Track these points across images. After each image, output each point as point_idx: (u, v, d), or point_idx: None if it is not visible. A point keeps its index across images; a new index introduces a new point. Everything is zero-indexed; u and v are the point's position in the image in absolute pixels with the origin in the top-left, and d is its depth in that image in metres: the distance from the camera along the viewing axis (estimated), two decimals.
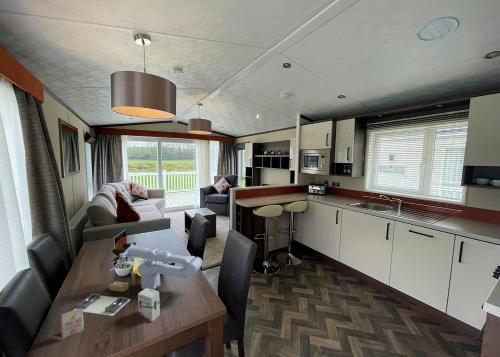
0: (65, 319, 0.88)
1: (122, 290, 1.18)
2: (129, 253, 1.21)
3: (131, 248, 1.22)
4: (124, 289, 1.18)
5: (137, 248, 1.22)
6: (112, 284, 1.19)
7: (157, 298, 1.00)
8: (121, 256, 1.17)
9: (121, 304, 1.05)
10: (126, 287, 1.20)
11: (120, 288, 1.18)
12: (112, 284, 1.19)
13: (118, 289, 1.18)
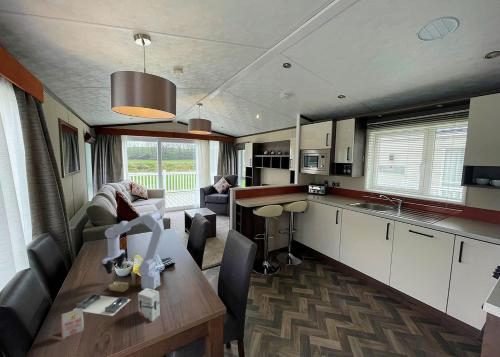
0: (65, 319, 0.88)
1: (122, 290, 1.18)
2: (110, 255, 1.21)
3: (108, 254, 1.22)
4: (124, 289, 1.18)
5: None
6: (112, 284, 1.19)
7: (157, 298, 1.00)
8: (104, 261, 1.17)
9: (121, 304, 1.05)
10: (126, 287, 1.20)
11: (120, 288, 1.18)
12: (112, 284, 1.19)
13: (118, 289, 1.18)
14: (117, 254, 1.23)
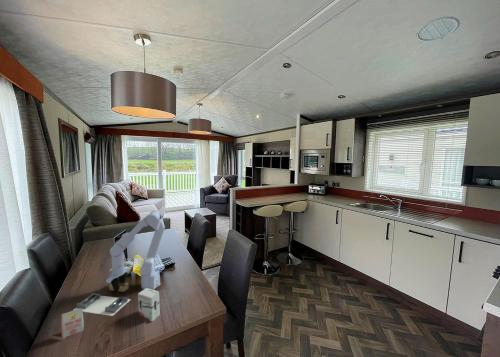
0: (65, 319, 0.88)
1: (122, 290, 1.18)
2: (115, 274, 1.17)
3: (112, 272, 1.18)
4: (124, 289, 1.18)
5: None
6: None
7: (157, 298, 1.00)
8: (108, 280, 1.12)
9: (121, 304, 1.05)
10: (126, 287, 1.20)
11: (120, 288, 1.18)
12: None
13: (118, 289, 1.18)
14: (122, 272, 1.18)
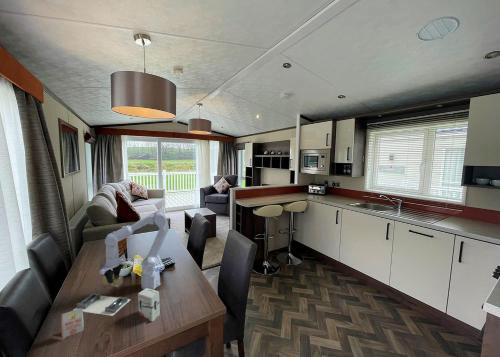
0: (65, 319, 0.88)
1: (116, 283, 1.13)
2: (108, 265, 1.12)
3: (106, 263, 1.13)
4: (118, 282, 1.13)
5: None
6: None
7: (157, 298, 1.00)
8: (101, 272, 1.07)
9: (121, 304, 1.05)
10: (120, 280, 1.15)
11: (114, 282, 1.13)
12: (105, 278, 1.14)
13: (112, 282, 1.13)
14: (116, 263, 1.13)
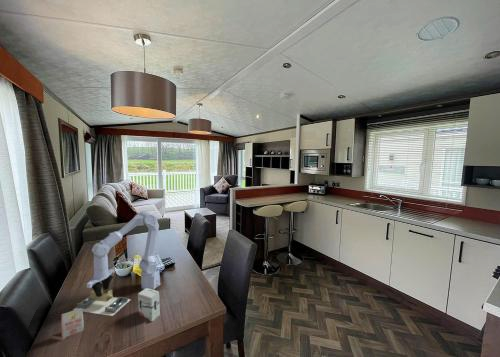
0: (65, 319, 0.88)
1: (105, 298, 1.04)
2: (97, 277, 1.03)
3: (94, 275, 1.05)
4: (107, 297, 1.05)
5: None
6: None
7: (157, 298, 1.00)
8: (88, 285, 0.99)
9: (121, 304, 1.05)
10: (109, 294, 1.06)
11: (103, 296, 1.05)
12: (93, 292, 1.06)
13: (100, 297, 1.05)
14: (105, 275, 1.05)
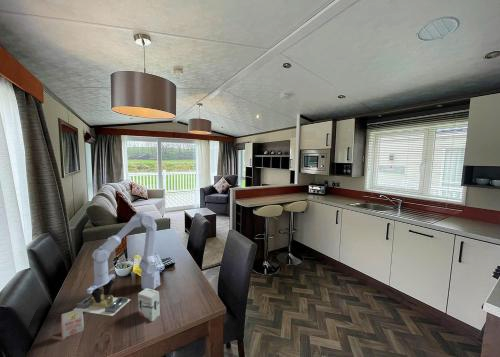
0: (65, 319, 0.88)
1: (105, 304, 1.05)
2: (97, 283, 1.03)
3: (94, 281, 1.05)
4: (107, 303, 1.05)
5: None
6: None
7: (157, 298, 1.00)
8: (89, 291, 0.99)
9: (121, 304, 1.05)
10: (110, 300, 1.07)
11: (103, 302, 1.05)
12: None
13: (101, 303, 1.05)
14: (105, 281, 1.05)
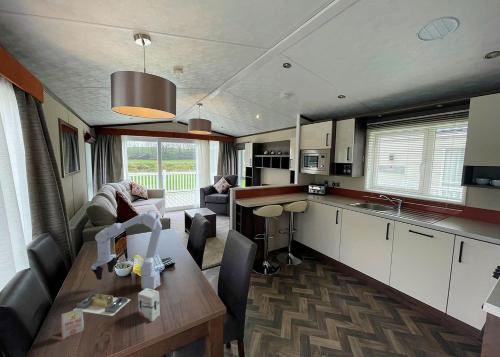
0: (65, 319, 0.88)
1: (105, 304, 1.05)
2: (100, 260, 1.15)
3: (98, 259, 1.16)
4: (107, 303, 1.05)
5: None
6: (94, 297, 1.06)
7: (157, 298, 1.00)
8: (93, 267, 1.10)
9: (121, 304, 1.05)
10: (110, 300, 1.07)
11: (103, 302, 1.05)
12: (94, 298, 1.06)
13: (101, 303, 1.05)
14: (108, 259, 1.17)
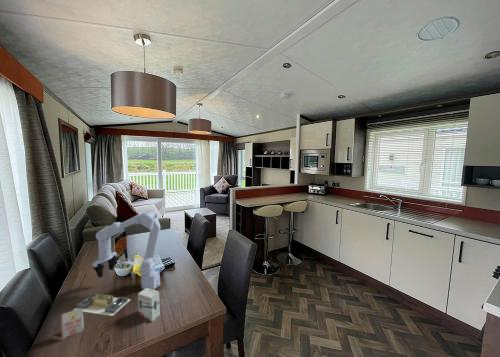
0: (65, 319, 0.88)
1: (105, 304, 1.05)
2: (101, 258, 1.17)
3: (99, 257, 1.19)
4: (107, 303, 1.05)
5: None
6: (94, 297, 1.06)
7: (157, 298, 1.00)
8: (94, 264, 1.13)
9: (121, 304, 1.05)
10: (110, 300, 1.07)
11: (103, 302, 1.05)
12: (94, 298, 1.06)
13: (101, 303, 1.05)
14: (108, 257, 1.19)
